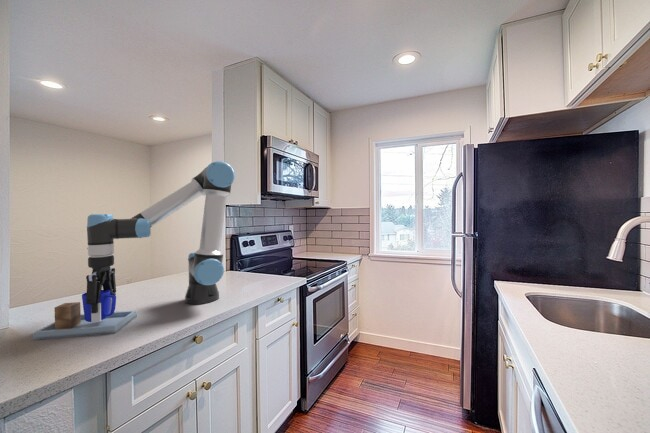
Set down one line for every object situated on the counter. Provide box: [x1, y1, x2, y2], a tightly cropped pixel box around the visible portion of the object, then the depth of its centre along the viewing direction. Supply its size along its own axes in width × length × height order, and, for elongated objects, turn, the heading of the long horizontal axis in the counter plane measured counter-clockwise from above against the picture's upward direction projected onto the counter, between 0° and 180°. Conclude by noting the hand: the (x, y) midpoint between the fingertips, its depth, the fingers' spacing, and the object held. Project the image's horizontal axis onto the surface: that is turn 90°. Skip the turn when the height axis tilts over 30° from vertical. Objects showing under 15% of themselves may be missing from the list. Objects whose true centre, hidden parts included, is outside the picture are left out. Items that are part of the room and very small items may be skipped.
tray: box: [32, 310, 138, 341], centre depth 102 cm, size 24×16×2 cm, turn 101°
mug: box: [81, 289, 117, 322], centre depth 103 cm, size 8×12×10 cm
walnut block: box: [54, 301, 82, 330], centre depth 101 cm, size 5×5×8 cm
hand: (102, 317), depth 103 cm, fingers closed on mug, 7 cm apart
